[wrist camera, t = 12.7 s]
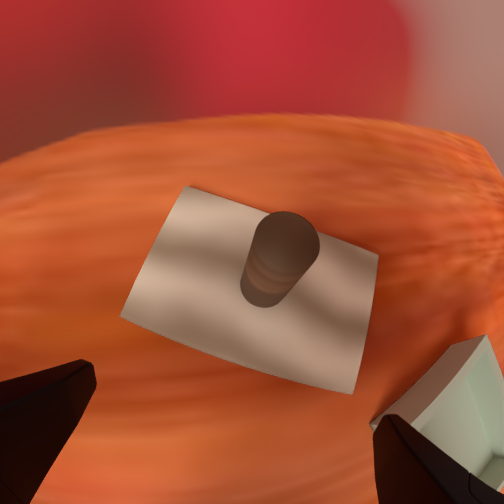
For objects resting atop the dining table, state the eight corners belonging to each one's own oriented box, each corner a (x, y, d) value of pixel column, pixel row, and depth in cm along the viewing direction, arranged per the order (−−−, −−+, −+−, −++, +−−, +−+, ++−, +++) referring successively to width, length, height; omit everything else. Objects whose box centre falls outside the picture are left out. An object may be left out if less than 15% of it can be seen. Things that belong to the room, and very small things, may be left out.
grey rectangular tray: (426, 530, 13) (455, 542, 9) (369, 423, 19) (404, 429, 14) (492, 455, 17) (522, 456, 13) (451, 344, 23) (486, 333, 18)
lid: (346, 394, 20) (412, 395, 12) (124, 319, 21) (78, 284, 13) (372, 260, 26) (427, 212, 18) (185, 193, 26) (180, 120, 18)
